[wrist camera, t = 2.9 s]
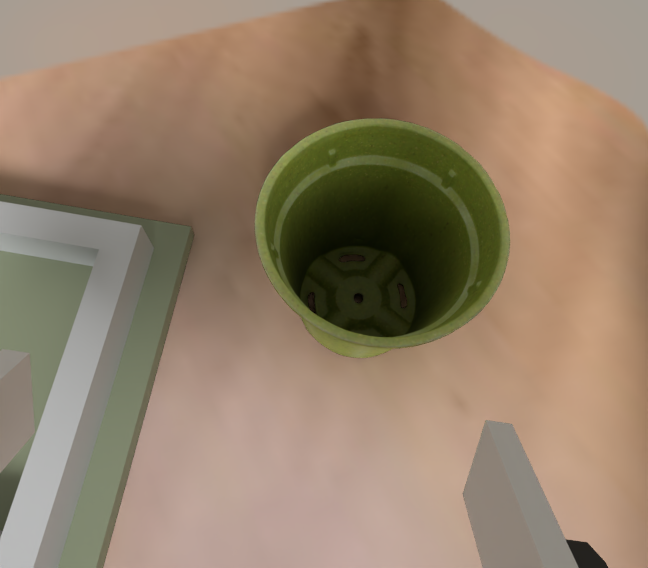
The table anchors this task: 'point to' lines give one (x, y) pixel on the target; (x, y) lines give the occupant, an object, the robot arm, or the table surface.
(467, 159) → the plant pot
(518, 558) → the robot arm
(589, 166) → the table surface
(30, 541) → the grey green square tray
